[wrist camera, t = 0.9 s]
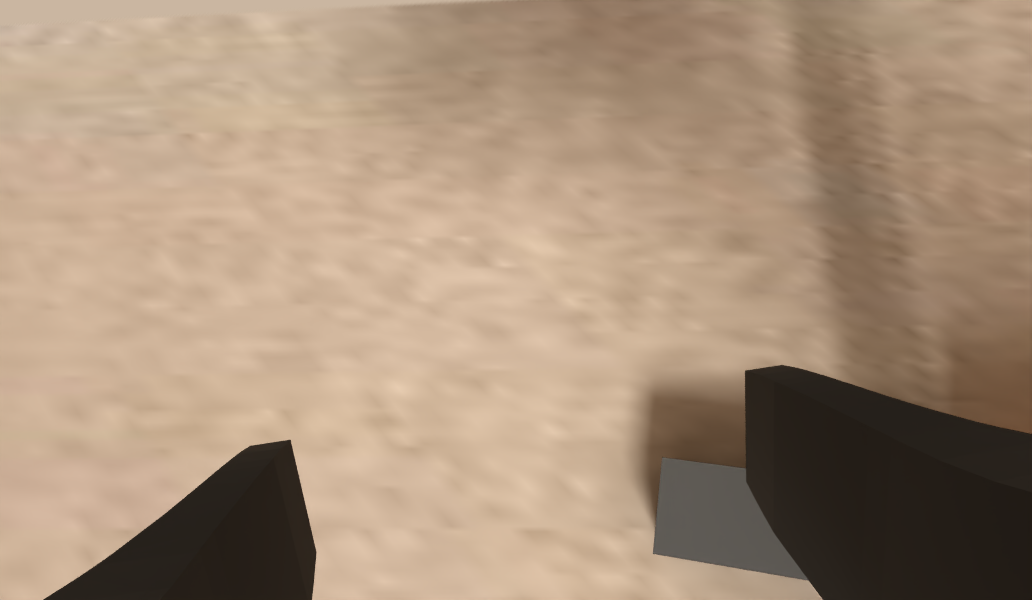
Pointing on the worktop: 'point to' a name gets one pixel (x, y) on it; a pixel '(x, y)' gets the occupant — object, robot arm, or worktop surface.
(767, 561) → the plug
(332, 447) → the worktop surface
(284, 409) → the worktop surface
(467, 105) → the worktop surface
